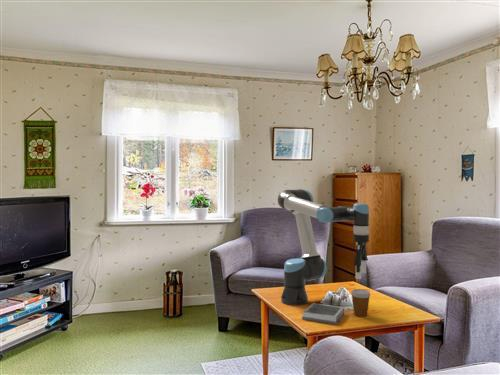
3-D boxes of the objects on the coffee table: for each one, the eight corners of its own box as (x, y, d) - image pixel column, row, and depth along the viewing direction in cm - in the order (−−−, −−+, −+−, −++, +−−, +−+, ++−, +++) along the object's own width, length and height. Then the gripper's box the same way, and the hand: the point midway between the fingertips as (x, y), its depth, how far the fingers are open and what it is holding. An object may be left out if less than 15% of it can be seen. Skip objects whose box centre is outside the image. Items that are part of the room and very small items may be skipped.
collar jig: (302, 319, 198) (302, 312, 198) (312, 309, 213) (312, 302, 213) (336, 324, 191) (336, 317, 191) (344, 314, 206) (344, 307, 206)
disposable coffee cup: (367, 319, 198) (367, 295, 198) (348, 315, 203) (348, 292, 203) (372, 314, 206) (372, 290, 206) (354, 310, 211) (354, 288, 211)
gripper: (364, 237, 192) (364, 282, 192) (372, 231, 214) (372, 271, 214) (348, 236, 195) (348, 280, 195) (358, 231, 217) (358, 270, 217)
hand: (361, 275), depth 205 cm, fingers open, 13 cm apart
